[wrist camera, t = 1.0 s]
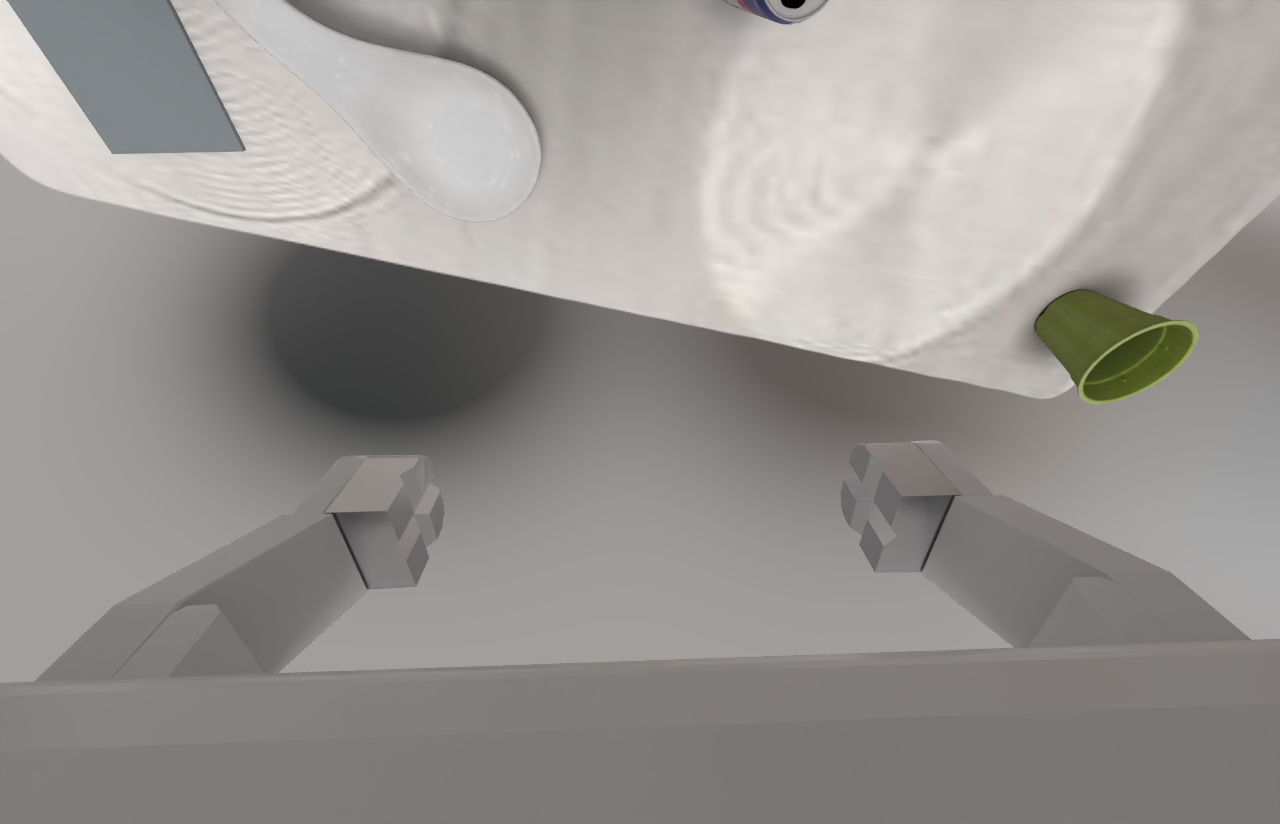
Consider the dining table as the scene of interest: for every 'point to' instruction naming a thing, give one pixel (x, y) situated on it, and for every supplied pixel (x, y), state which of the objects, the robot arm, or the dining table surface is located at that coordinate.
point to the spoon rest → (411, 111)
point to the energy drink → (781, 9)
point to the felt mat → (132, 73)
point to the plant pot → (1113, 345)
